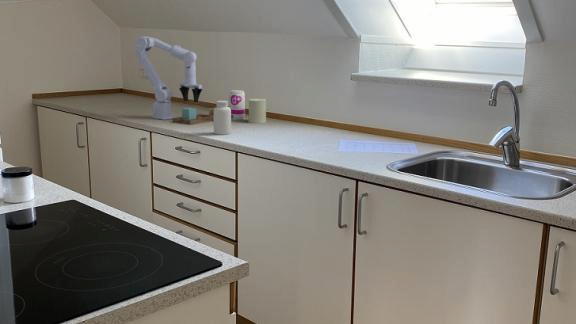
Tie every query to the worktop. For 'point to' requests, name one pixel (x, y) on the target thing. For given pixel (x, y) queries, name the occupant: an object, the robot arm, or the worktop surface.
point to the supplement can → (237, 104)
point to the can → (257, 110)
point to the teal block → (188, 113)
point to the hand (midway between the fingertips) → (190, 101)
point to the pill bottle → (222, 118)
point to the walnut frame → (199, 119)
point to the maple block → (211, 111)
